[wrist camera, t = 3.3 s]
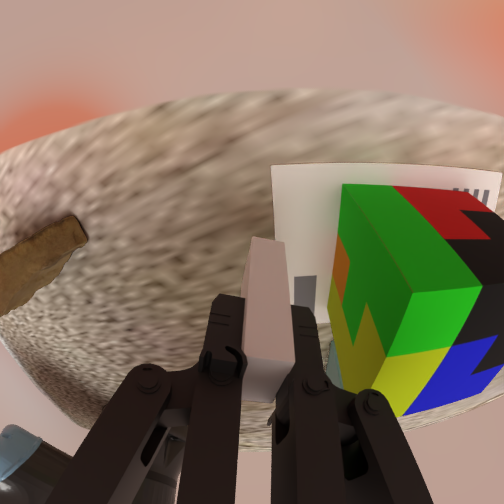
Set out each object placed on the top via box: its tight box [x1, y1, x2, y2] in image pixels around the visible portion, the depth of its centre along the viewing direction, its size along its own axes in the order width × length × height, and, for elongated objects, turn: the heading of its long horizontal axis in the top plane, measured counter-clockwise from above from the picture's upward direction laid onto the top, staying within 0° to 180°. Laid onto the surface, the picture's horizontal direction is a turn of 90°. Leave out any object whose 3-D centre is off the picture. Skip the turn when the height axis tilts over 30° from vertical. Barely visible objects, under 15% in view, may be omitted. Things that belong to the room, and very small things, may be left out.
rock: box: [0, 216, 87, 317], centre depth 18 cm, size 11×9×10 cm
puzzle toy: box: [327, 184, 504, 417], centre depth 15 cm, size 10×10×10 cm
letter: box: [271, 163, 502, 324], centre depth 19 cm, size 18×13×1 cm
